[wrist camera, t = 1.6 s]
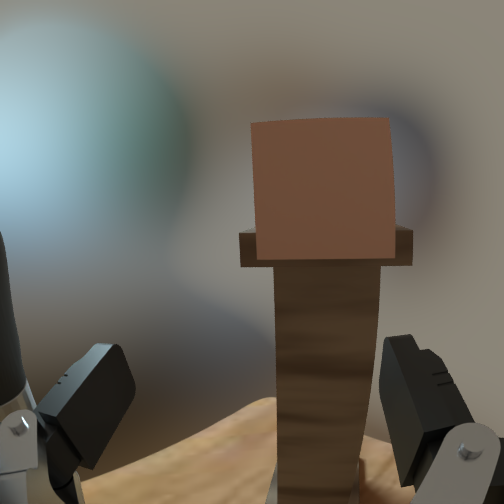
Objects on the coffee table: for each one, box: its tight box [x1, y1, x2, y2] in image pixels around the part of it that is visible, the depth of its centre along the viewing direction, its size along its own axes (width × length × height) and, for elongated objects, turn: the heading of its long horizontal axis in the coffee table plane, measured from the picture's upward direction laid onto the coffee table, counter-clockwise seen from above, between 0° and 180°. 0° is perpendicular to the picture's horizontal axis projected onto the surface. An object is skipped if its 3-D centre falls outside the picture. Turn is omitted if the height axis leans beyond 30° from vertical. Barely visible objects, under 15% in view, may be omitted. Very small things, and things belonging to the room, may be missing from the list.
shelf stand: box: [239, 224, 413, 504], centre depth 27 cm, size 14×10×30 cm
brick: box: [251, 118, 395, 260], centre depth 19 cm, size 22×4×4 cm, turn 167°
